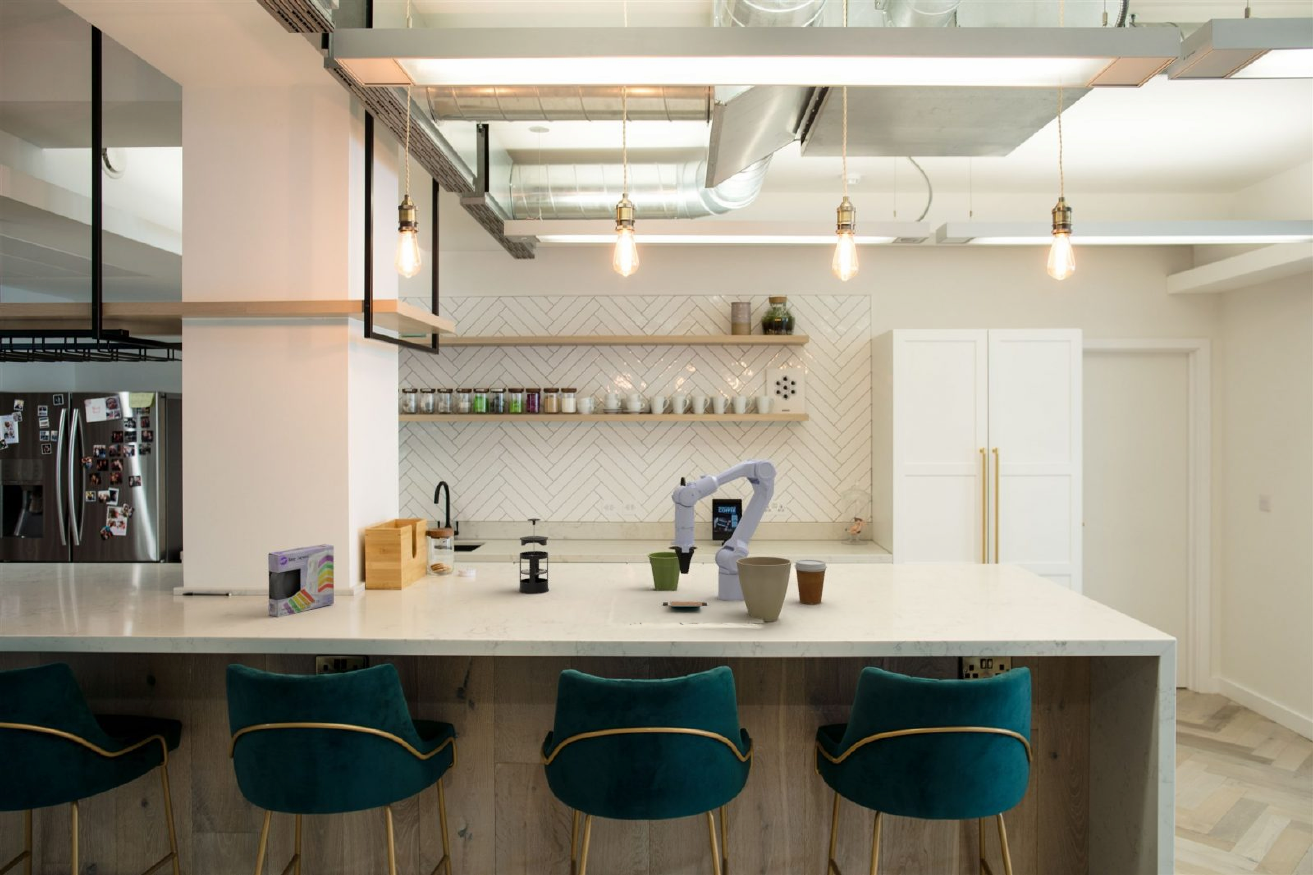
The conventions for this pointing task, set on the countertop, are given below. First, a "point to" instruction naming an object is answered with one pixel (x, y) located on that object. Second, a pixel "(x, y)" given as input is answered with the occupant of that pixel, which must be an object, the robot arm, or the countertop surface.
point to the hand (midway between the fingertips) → (684, 573)
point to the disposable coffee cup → (810, 580)
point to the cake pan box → (300, 579)
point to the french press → (534, 565)
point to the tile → (685, 603)
